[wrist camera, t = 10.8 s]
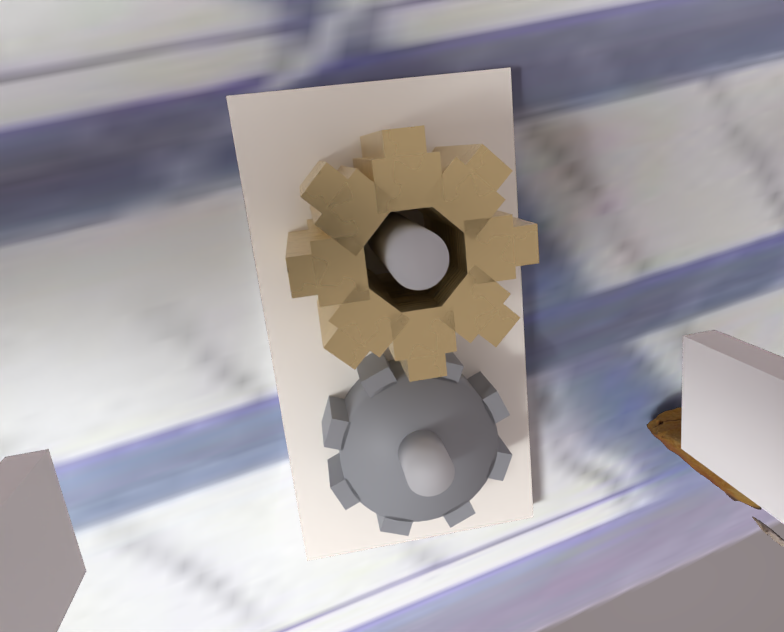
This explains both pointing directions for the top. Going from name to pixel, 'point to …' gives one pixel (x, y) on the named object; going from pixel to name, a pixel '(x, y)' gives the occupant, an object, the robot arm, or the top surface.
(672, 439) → the rock
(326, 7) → the top surface
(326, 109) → the gear board
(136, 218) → the top surface
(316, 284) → the brass gear
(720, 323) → the top surface
